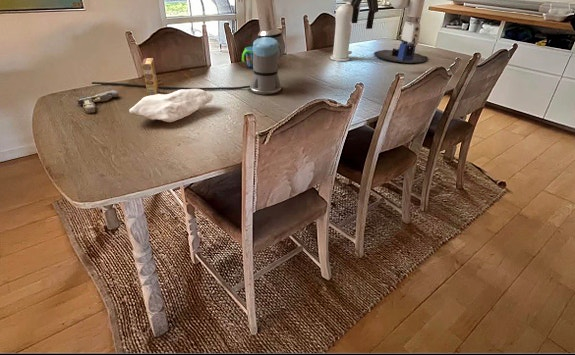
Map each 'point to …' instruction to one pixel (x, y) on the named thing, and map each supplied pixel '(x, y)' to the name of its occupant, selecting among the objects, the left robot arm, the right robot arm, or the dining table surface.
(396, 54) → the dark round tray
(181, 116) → the crumpled cloth
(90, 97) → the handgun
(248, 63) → the snack cup
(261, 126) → the dining table surface
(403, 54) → the block
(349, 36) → the right robot arm
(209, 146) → the dining table surface
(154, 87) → the candy box
